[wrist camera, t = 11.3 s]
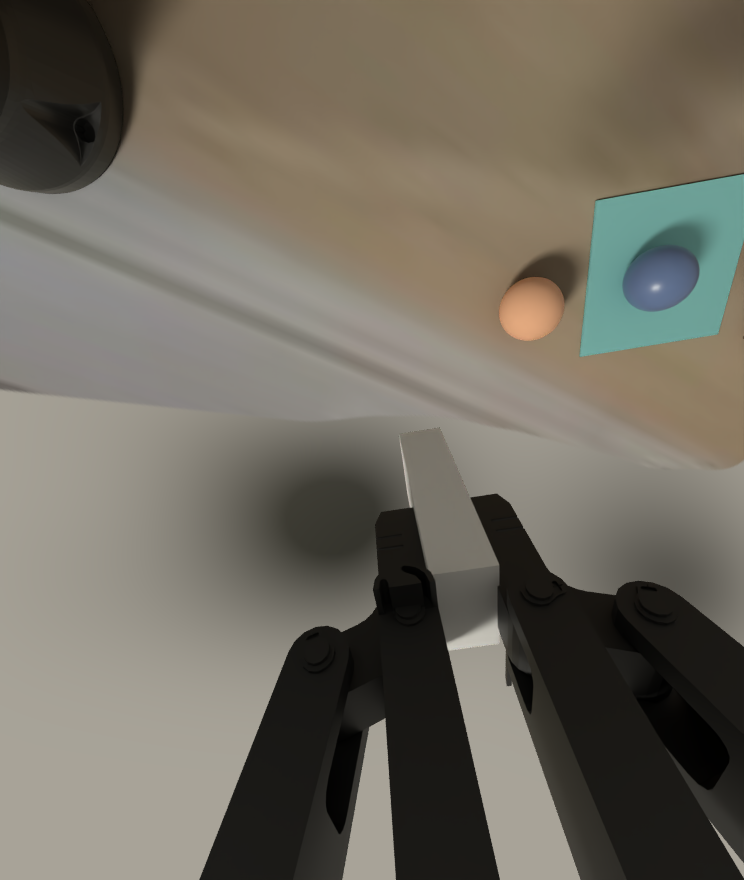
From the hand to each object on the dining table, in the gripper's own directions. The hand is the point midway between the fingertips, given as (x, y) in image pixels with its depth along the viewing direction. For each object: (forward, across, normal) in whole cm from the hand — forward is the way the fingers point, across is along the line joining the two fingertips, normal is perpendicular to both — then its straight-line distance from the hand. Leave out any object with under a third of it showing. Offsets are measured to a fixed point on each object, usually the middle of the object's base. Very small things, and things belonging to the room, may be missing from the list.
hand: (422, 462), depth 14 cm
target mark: (+26, +27, 0) cm, 38 cm away
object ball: (+24, +25, 0) cm, 34 cm away
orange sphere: (+24, +14, -1) cm, 27 cm away
